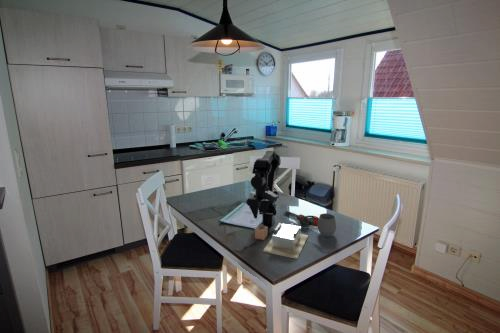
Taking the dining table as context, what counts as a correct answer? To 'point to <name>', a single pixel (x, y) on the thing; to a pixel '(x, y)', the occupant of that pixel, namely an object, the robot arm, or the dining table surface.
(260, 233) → the brown block with knob
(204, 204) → the dining table surface
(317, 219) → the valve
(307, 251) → the dining table surface
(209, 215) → the dining table surface
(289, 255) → the mounting board
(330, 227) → the cup
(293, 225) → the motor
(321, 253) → the dining table surface
